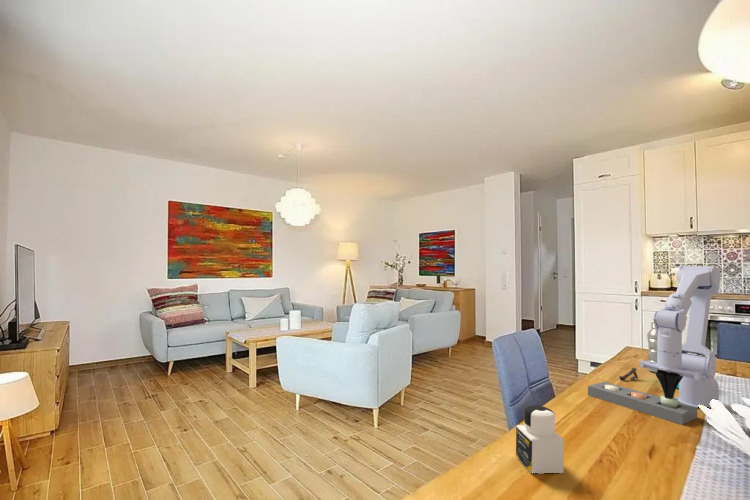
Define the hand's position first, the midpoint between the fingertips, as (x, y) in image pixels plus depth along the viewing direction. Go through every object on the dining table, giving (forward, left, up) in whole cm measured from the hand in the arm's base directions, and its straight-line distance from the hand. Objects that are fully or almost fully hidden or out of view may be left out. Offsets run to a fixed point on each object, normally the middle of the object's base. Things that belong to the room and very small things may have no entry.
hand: (669, 398), depth 112 cm
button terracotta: (+4, -7, -4) cm, 9 cm away
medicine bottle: (+51, +29, -5) cm, 59 cm away
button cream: (+8, -14, -4) cm, 16 cm away
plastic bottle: (-31, -44, -5) cm, 54 cm away
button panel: (+4, -7, -5) cm, 9 cm away
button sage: (0, 0, -3) cm, 3 cm away
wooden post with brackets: (-11, -33, -5) cm, 35 cm away
